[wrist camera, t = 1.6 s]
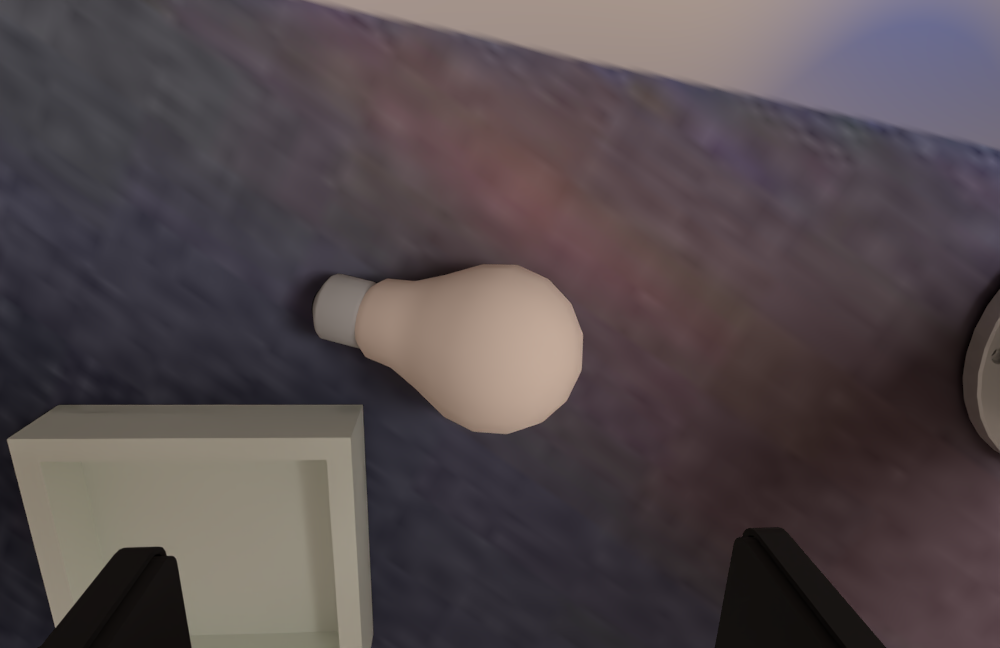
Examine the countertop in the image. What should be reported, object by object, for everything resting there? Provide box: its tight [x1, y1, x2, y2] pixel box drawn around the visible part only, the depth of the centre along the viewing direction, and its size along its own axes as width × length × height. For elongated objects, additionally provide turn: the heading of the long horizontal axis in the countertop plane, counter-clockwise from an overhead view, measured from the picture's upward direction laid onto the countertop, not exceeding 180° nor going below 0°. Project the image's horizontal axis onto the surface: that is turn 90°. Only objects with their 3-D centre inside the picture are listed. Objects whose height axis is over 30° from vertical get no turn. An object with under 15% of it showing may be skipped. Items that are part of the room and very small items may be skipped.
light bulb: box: [312, 264, 583, 434], centre depth 23 cm, size 7×7×11 cm
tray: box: [7, 405, 373, 648], centre depth 26 cm, size 13×13×3 cm
